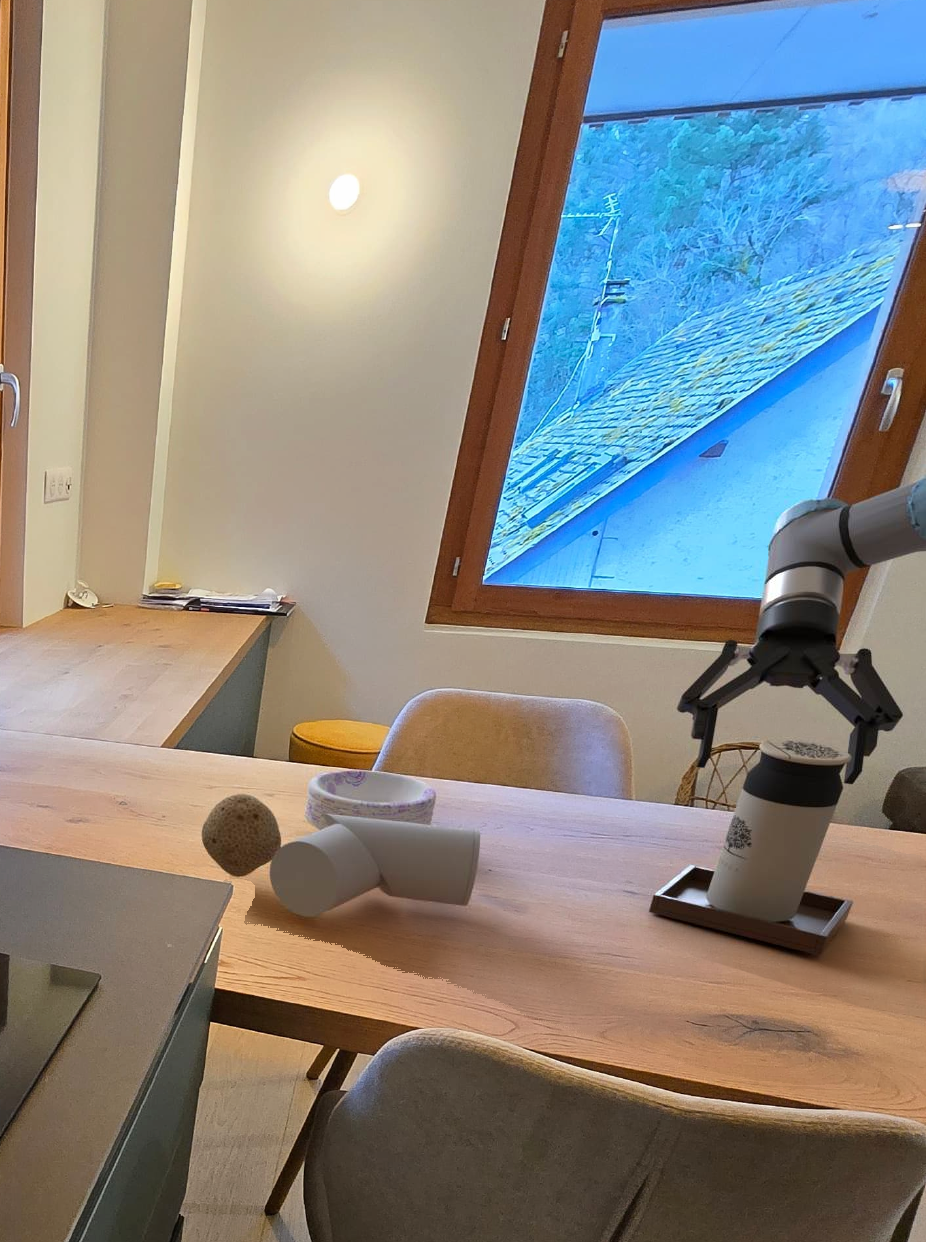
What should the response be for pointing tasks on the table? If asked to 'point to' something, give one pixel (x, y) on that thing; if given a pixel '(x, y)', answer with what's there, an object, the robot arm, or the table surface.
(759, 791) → the travel mug
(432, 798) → the paper bowls
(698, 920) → the tray
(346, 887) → the l-shaped cylinder
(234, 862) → the natural sponge
